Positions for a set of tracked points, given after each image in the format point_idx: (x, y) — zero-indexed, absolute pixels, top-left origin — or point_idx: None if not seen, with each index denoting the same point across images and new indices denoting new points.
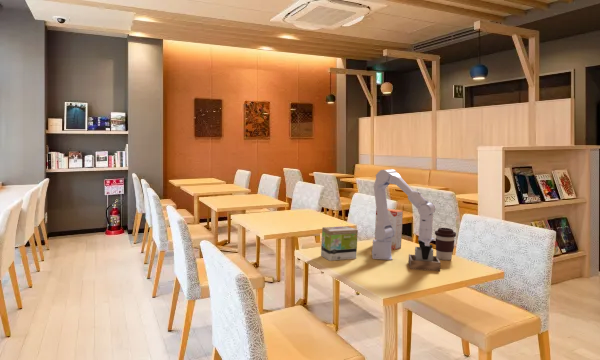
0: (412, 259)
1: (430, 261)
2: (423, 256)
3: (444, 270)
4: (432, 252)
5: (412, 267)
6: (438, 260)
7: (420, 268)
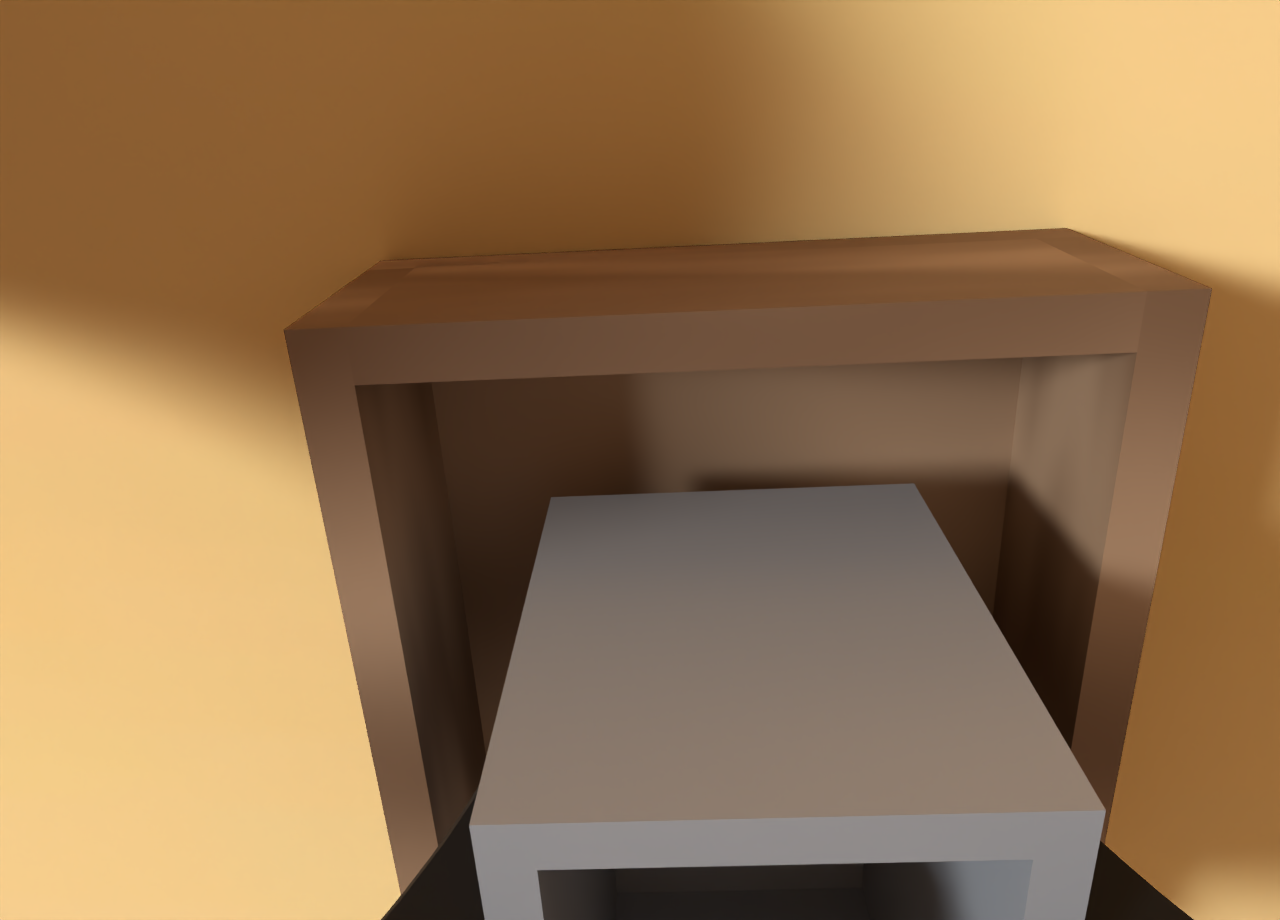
0: None
1: (1101, 618)
2: None
3: (960, 69)
4: (1049, 758)
5: None
6: (920, 331)
7: None
